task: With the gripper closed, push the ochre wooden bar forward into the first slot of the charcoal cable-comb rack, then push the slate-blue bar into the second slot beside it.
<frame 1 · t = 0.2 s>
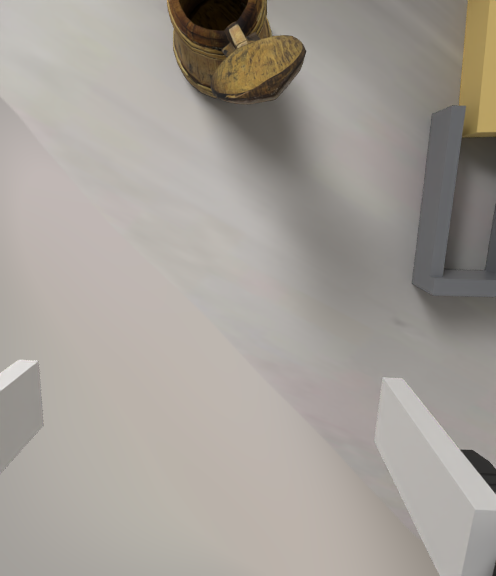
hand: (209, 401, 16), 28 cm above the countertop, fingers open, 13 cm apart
wooden mug: (233, 71, 38), on the countertop
bar ochre: (482, 69, 38), on the countertop
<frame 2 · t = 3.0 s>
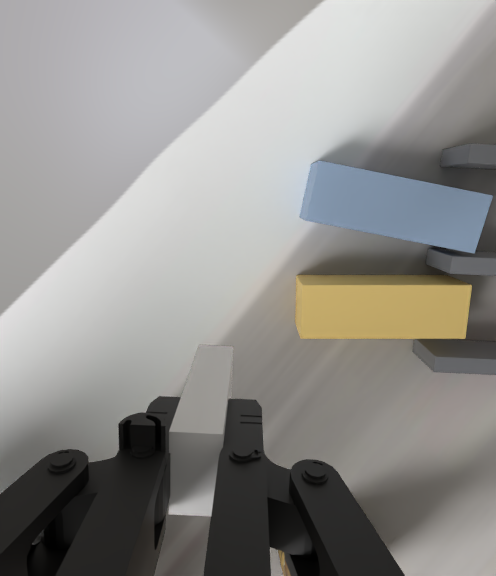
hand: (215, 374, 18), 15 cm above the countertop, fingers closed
bar blue: (380, 206, 32), on the countertop
bar ochre: (369, 298, 33), on the countertop
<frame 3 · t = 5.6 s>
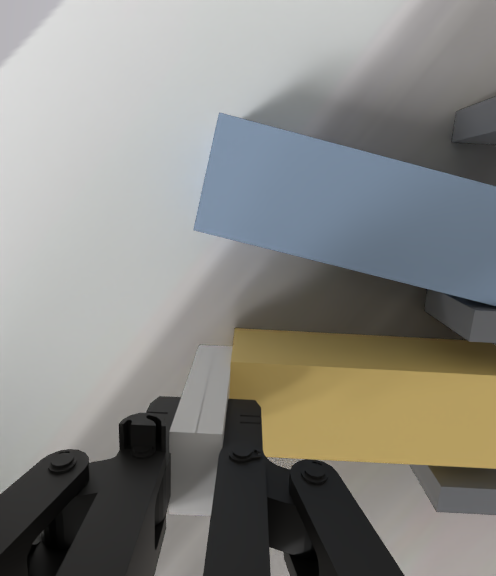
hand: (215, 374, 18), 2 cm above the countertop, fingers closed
bar blue: (346, 210, 18), on the countertop
bar ochre: (356, 373, 20), on the countertop, touching gripper
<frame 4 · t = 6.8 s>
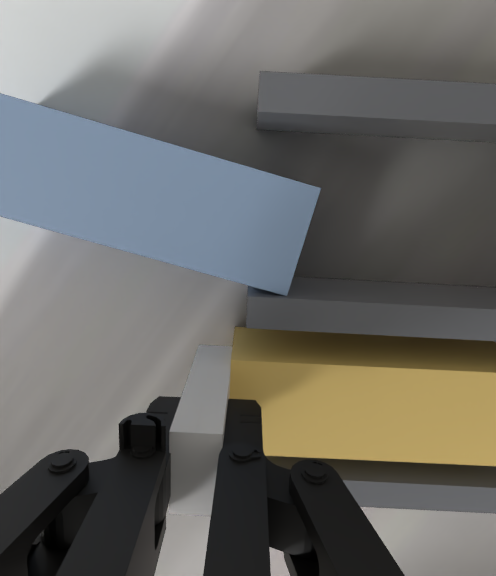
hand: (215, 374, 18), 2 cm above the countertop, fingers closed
comb rack: (435, 297, 19), on the countertop
bar blue: (162, 195, 18), on the countertop
bar ochre: (357, 371, 20), resting in comb rack, touching gripper
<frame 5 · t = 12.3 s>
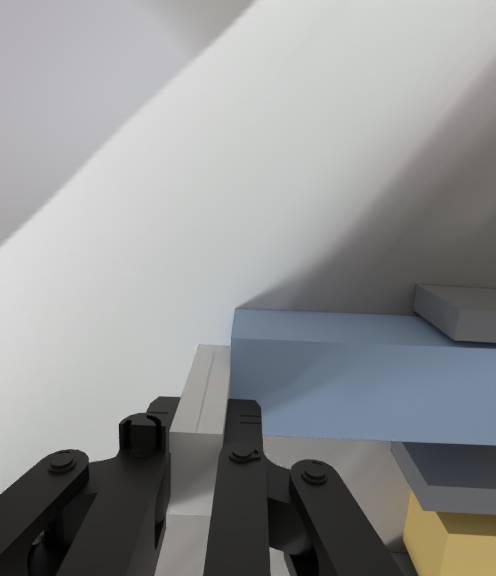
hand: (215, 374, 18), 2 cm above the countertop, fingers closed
bar blue: (359, 353, 19), on the countertop, touching gripper
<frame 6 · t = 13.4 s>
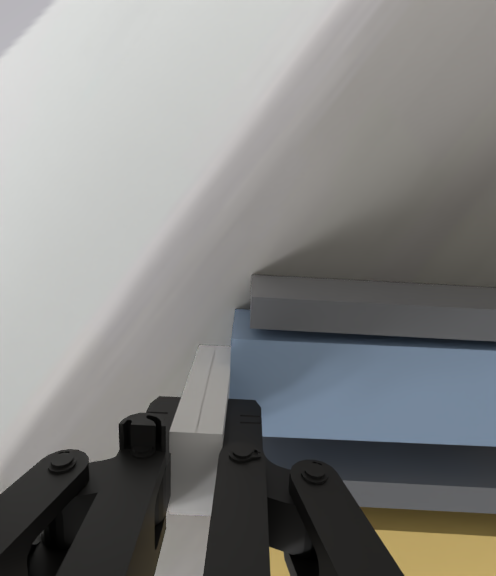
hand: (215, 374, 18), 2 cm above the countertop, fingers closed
comb rack: (414, 440, 20), on the countertop
bar blue: (359, 354, 19), resting in comb rack, touching gripper
bar ochre: (378, 502, 22), resting in comb rack
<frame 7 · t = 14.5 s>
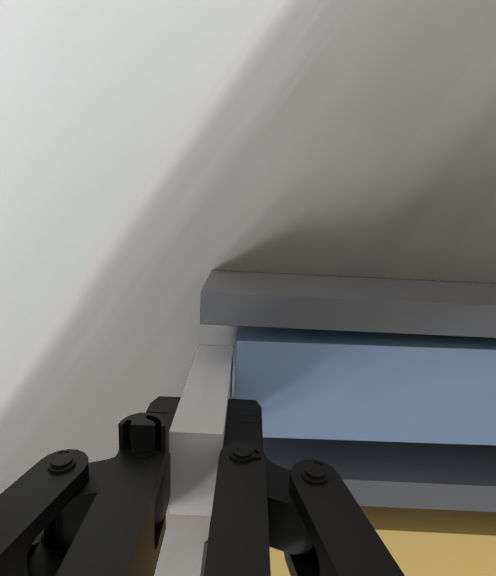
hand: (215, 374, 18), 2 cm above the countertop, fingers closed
comb rack: (381, 436, 20), on the countertop
bar blue: (363, 354, 20), resting in comb rack
bar ochre: (347, 499, 21), resting in comb rack
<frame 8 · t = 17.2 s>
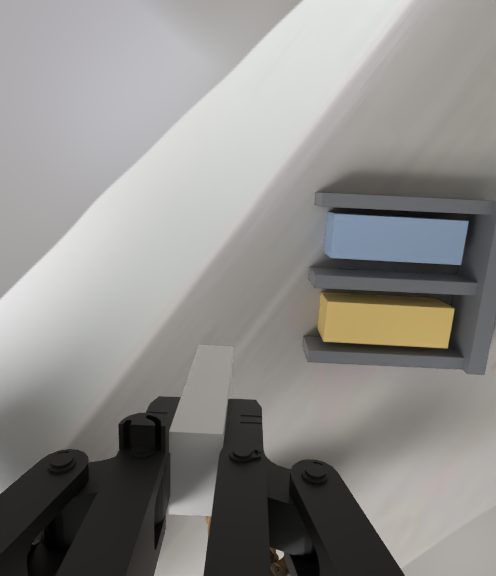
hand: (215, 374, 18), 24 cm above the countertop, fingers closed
comb rack: (393, 277, 42), on the countertop
wooden mug: (260, 495, 48), on the countertop
bar blue: (384, 235, 41), resting in comb rack
bar ochre: (376, 312, 43), resting in comb rack
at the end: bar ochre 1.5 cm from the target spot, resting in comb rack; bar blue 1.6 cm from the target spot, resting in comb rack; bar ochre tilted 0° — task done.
